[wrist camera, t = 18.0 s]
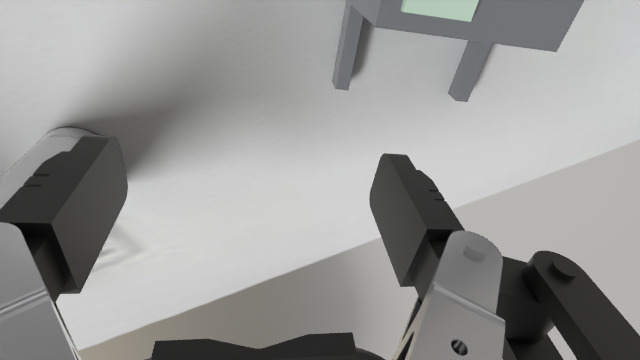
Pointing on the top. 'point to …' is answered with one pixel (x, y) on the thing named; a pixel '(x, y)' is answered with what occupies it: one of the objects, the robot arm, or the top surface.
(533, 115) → the top surface
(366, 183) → the top surface
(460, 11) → the platform
